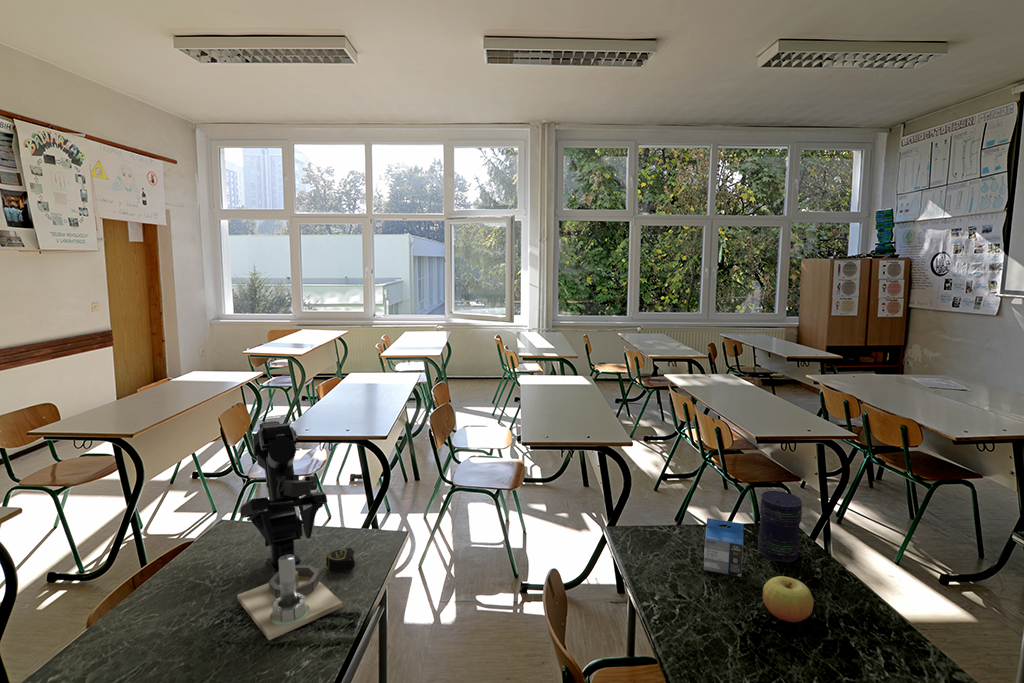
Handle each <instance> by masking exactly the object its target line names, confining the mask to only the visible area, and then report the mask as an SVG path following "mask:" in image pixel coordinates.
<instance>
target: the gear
mask: <svg viewBox="0 0 1024 683" xmlns="http://www.w3.org/2000/svg"><path fill="white" fill-rule="evenodd" d="M278 562H279V570H278V571H279V577H280V593H281V597H279V598H278V599H276V600H275V601H274V603H273V607H272V608H273V618H274V619H275V620H277V621H279V622H282V623H283V622H289V621H294V619H295V620H297V619H298V618H300V617H301V616H303V615H304V613H305V611H306V597H305V595H302V594H300V593H297V588H296V572H295V565H296V564H295V556H294V555H291V554H288V555H283V556H281V557H280V558H279V559H278ZM293 604H294V607H290V608H286V606H290V605H293Z"/></svg>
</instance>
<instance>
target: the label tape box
mask: <svg viewBox="0 0 1024 683" xmlns="http://www.w3.org/2000/svg"><path fill="white" fill-rule="evenodd" d="M720 525H721V526H720ZM722 525H726V526H729V527H725V526H722ZM704 538H705V539H704V551H703V552H704V553H703V570H704V571H706V572H707V571H708V572H713V573H720V574H723V575H724V574H725V575H731V576H736V577H740V578H742V571H743V570H742V569H743V556H744V553H743V552H744V523H740V522H735V521H728V520H722V519H716V518H711V517H707V518H706V526H705V536H704Z"/></svg>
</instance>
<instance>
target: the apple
mask: <svg viewBox="0 0 1024 683" xmlns="http://www.w3.org/2000/svg"><path fill="white" fill-rule="evenodd" d="M814 600H815V599H814V597H813V595H812V593H811V590H810V589H809V587H808V586H807V585H805V584H804V583H803V582H802V581H800V580H798V579H795V578H793V577H789V576H780V575H779V576H774V577H772V578H770V579H769V580H768V581H766V582H765V584H764V585H763V588H762V601H763V604H764V605H765V607H766V609H767V610H768V612H769V613H771V614H772V615H773V616H774V617H776V618H777V619H779V620H781V621H785V622H789V623H797V622H799V623H800V622H802V621H804V620H805V619H808V618H809V617H810V615H811V614H812V612H813V610H814V609H813V608H814Z"/></svg>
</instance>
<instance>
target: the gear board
mask: <svg viewBox="0 0 1024 683" xmlns="http://www.w3.org/2000/svg"><path fill="white" fill-rule="evenodd" d="M295 572H296V588H297V593H300V594H302V595H305V597H306V611H305V613H304V615H303V616H301V617H300V618H298V619H297V620H295V619H294V621H289V622H283V623H282V622H279V621H277V620H275V619H274V618H273V608H272V607H273V603H274V601H275V600H276V599H278V598H279V597H281V593H280V577H279V570H277V572H275V574H274V575H273V576H272V577H271V579H270V580H268V582H267V583H265V584H262V585H260V586H257V587H254V588H252V589H248V590H247V591H244V592H242V593H238V594H237V595H236V597H237V601H238V602H239V604H240V605H241V606H242V607H243V608H244V610H245V611H246V613H247V614H248V615H249V617H250V618H251V619H252V621H253V622H254V623H255V624H256V626H257V627H258V628H259V629H260V631H261V632H262V634H263V635H264V636H265V637H266V639H267V640H268V641H271V640H273V639H275V638H278V637H280V636H282V635H284V634H287V633H288V632H289V633H290V631H293V630H295V629H299V628H300V627H302V626H304V625H306V624H309V623H312V622H313V621H316V620H318V619H320V618H321V617H325V616H326V615H328V614H331V613H333V612H335V611H338V610H340V609H342V608H343V602H342V601H341V600H340V598H338V597H337V596H336V595H335V594H334V593H333V592H332V591H331V590H329V588H328V587H326V586H325V584H323V583H322V582H321V581H320V572H319V570H318V569H316V568H315V567H314V566H313V565H311V564H310V565H309V564H308V565H305V564H304V565H303V564H302V565H301V564H298V565H297V564H295ZM290 607H294V604H293V605H290V606H286V608H290Z"/></svg>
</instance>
